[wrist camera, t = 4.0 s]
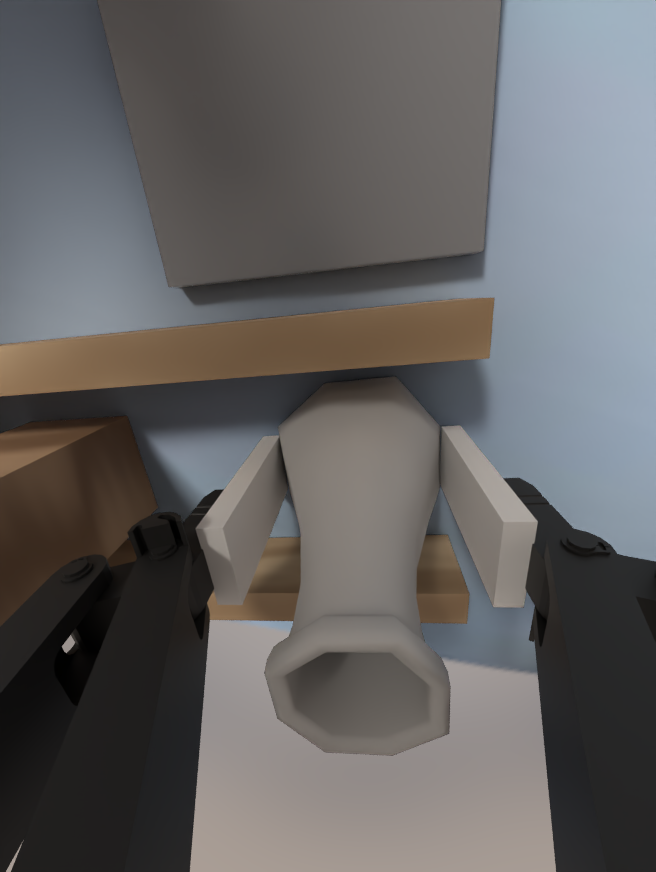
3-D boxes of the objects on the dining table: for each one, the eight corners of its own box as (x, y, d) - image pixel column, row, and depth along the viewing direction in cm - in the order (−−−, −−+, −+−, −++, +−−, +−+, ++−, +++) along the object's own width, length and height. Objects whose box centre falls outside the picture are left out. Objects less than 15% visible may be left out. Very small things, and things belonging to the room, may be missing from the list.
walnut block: (31, 422, 16) (-257, 527, 8) (127, 415, 15) (-94, 523, 8) (71, 509, 18) (-137, 659, 10) (158, 507, 17) (3, 664, 10)
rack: (-84, 353, 15) (-207, 367, 12) (458, 298, 12) (494, 297, 9) (31, 563, 19) (-35, 616, 16) (446, 560, 17) (466, 623, 13)
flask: (464, 492, 15) (627, 794, 6) (322, 538, 17) (275, 828, 8) (408, 344, 13) (530, 453, 4) (251, 414, 15) (64, 609, 5)
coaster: (71, -164, 9) (45, -206, 8) (510, -298, 7) (526, -363, 7) (179, 287, 13) (168, 287, 12) (475, 253, 11) (483, 250, 11)
